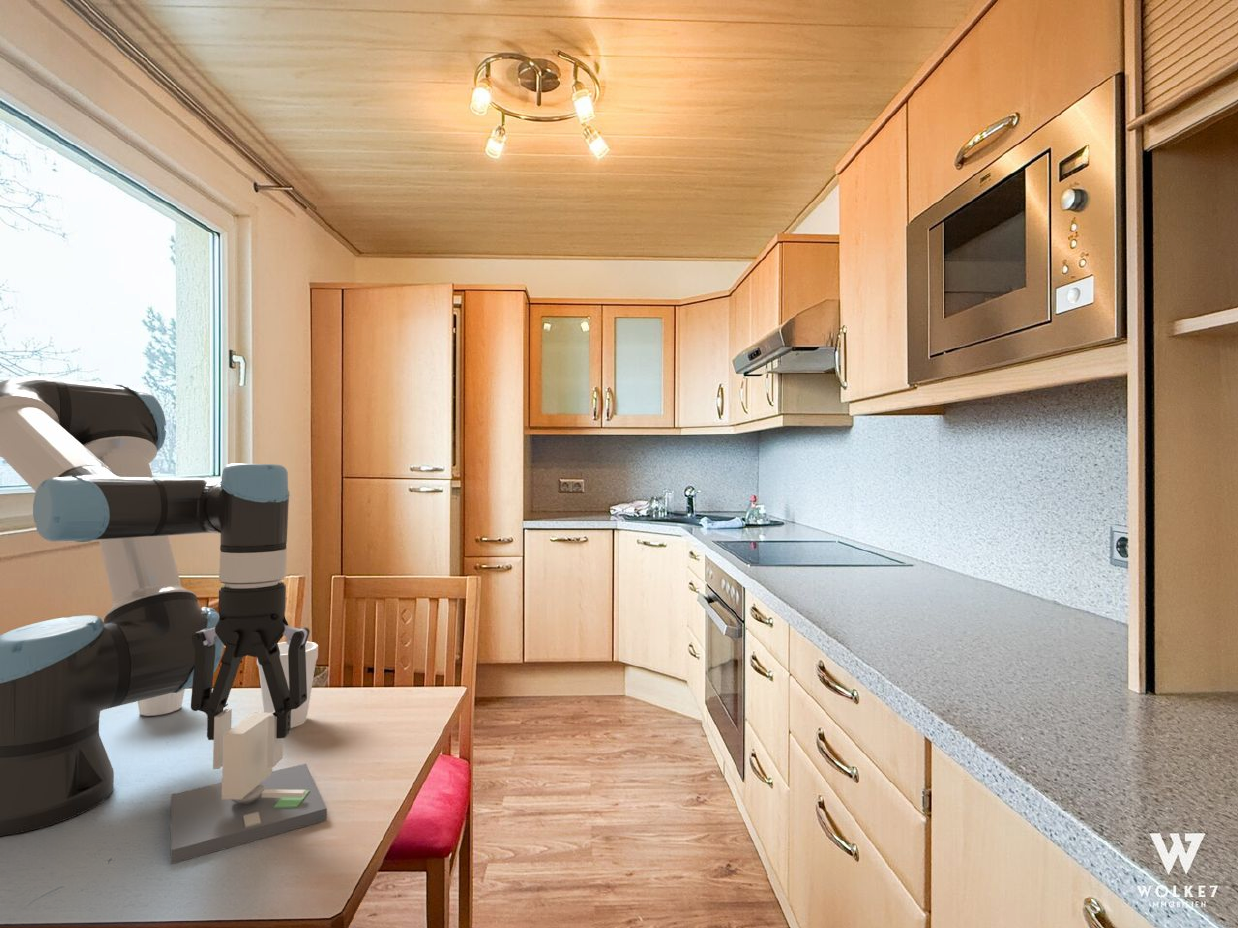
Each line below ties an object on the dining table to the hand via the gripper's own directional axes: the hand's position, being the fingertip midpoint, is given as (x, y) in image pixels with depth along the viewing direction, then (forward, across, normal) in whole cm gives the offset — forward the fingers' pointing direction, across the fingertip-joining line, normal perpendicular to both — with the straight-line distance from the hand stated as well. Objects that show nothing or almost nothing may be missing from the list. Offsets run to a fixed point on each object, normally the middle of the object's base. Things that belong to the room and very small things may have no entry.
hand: (248, 762), depth 81 cm
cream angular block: (+5, -3, 0) cm, 6 cm away
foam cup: (+7, +8, -31) cm, 32 cm away
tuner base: (+6, 0, 0) cm, 6 cm away
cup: (+7, +32, -37) cm, 50 cm away
